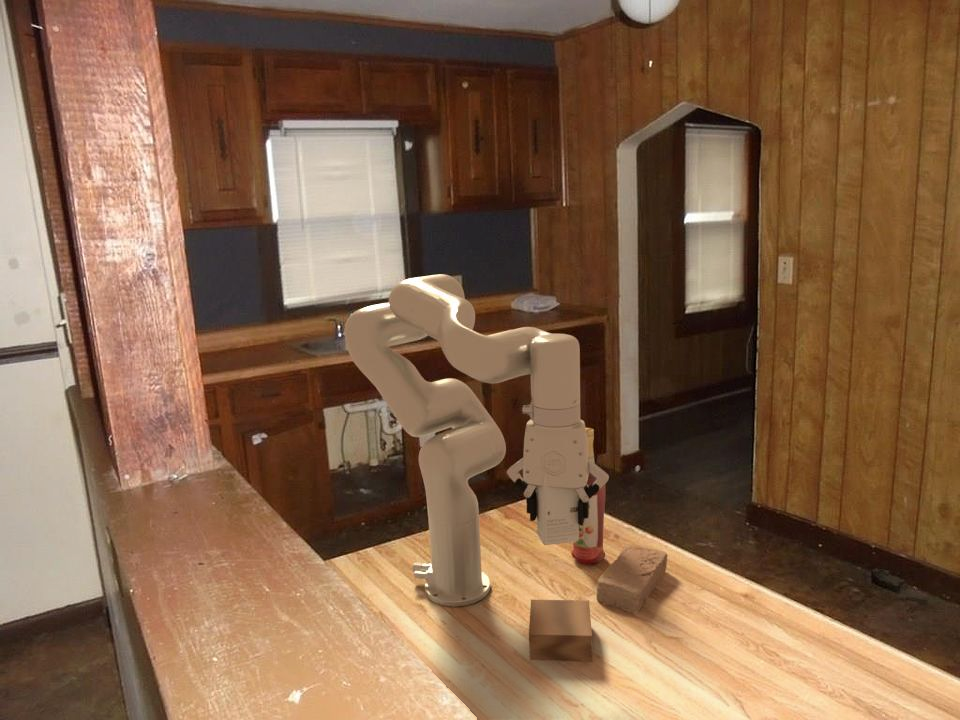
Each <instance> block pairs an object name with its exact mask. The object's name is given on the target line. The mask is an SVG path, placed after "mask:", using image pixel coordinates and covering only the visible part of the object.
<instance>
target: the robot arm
mask: <svg viewBox="0 0 960 720" xmlns="http://www.w3.org/2000/svg"><path fill="white" fill-rule="evenodd" d="M475 322H476V311H475V308H474V306H473V305H472V303H471V302H470V301H469V300H467V299H466V298H465V293H464V289H463V287H462V284H461V283H460V282H459V281H458V280H457V279H455V278H454V277H453V276H451V275H448V274H444V273H443V274H442V273H441V274H440V273H439V274H432V275H425V276H423V275H422V276H417V277H410V278H407V279H403V280H401V281H400V282H397V284H396V285H395V286H394V287H393V288H392V289H391V290H390V294H389V296H388V302H382V303H378V304H372V305H368V306H365V307H363V308H360V309H358V310H355V311H354V312H353V313H352V314H349V316H348V318H347V320H346V321H345V325H344V332H343V333H344V340H345V345H346V348H347V351H348V354H349V356H350V358H351V360H352V362H353V363H354V364H355V366H356V367H357V369H359V371H360V372H361V373H362V374H363V375H364V376H365V377H366V378H367V379H368V381H370V383H371V384H372V385H373V386H374V387H375V388H376V390H377V391H378V392H379V394H380V396H381V397H382V399H383V401H384V402H385V403H386V405H387V406H388V407H387V408H389V410H390V411H391V413H392V414H393V415H394V417H395V419H396V420H397V422H398V423H399V425H400V426H401V428H402V429H403V430H404V431H405V432H406V433H407V434H408V435H409V436H411V437H414V438H421V437H426V436H429V435H433V434H435V433H438V432H440V433H438V434H436V435H433V436H432V437H430V438H428V439H427V440H426V441H425V442H424V443H423V445H422V446H421V447H420V450H419V453H418V466H419V469H420V473H421V476H422V480H423V484H424V490H425V496H426V505H427V506H426V507H427V516H428V517H427V518H428V532H429V533H428V534H429V546H430V547H429V548H430V560H431V561H430V562H429V563H423V562H417V561H416V562H415V561H414V563H413V564H412V572H413V574H414V575H413V576H414V579H420V580H422V579H423V580H424V579H425V584H424V593H425V595H426V597H427V598H428V599H429V600H430V601H432V602H433V603H436V604H437V605H442V606H445V607H463V606H469V605H472V604H475V603H477V602H479V601H482V600H483V599H484V598H485V597H486V596H487V595H488V594H489V592H490V591H491V580H490V578H489V576H488V575H487V574H486V573H485V572H483V571H482V557H481V556H482V551H481V533H480V531H481V530H480V514H479V502H478V498H477V495H476V494H475V492H474V490H472V488H471V487H470V485H469V480H470V478H473V477H474V476H475V477H476V475H479V474H481V473H483V472H485V471H488V470H490V469H493V468H494V467H496V466H499V464H500V463H502V461H503V459H504V458H505V457H506V456H505V455H506V452H507V447H506V446H507V445H506V441H505V438H504V435H503V433H502V431H501V429H500V428H499V426H498V425H497V423H496V421H494V419H493V417H492V416H491V415H490V414H489V412H488V410H487V409H486V408H485V407H484V405H483V404H482V402H481V401H480V399H479V398H478V397H477V395H476V394H475V393H474V392H473V390H472V389H471V388H470V387H469V386H468V385H467V384H466V383H465V382H464V381H461V380H459V379H456V378H450V377H449V378H444V379H443V378H442V379H439V380H435V381H432V382H431V381H427V380H426V379H424V377H423V376H422V375H421V373H420V372H419V370H418V368H416V366H415V364H413V363H412V362H411V361H410V360H409V359H408V358H407V357H405V356H403V355H401V354H400V353H398V352H396V351H395V350H393V349H391V348H390V347H393V346H397V345H402V344H403V345H404V344H406V343H411V342H416V341H420V340H422V339H423V338H426V337H428V336H429V337H430V338H433V339H434V340H437V341H438V342H440V348H441V350H442V353H443V355H444V356H445V358H446V360H447V361H448V363H449V364H450V365H451V366H452V367H453V368H454V369H456V370H457V371H459V372H461V373H463V374H464V375H467V376H468V377H471V379H474V380H477V381H479V382H482V383H485V384H486V383H487V384H499V383H503V382H505V381H509V380H513V379H515V378H519V377H522V376H527V375H530V398H531V399H530V401H531V402H530V404H527V405H522V412H521V413H522V414H523V415H527V416H529V417H530V419H529V420H528V421H527V422H526V425H525V431H524V439H523V457H521V458H520V459H519V460H518V461H516V462H515V463H513V465H511V466H509V468H508V469H507V471H506V475H508V477H509V478H510V479H511V480H512V482H513V483H514V484H515V486H516V487H517V488H518V490H520V492H522V493H523V496H524V498H526V514H529V521H530V522H534V521H536V520H537V508H536V486H540V487H542V486H543V474H546V475H547V486H548V487H552V488H566V489H576V491H577V493H578V495H579V496H580V498H579V501H578V524H579V525H583V523H584V520H585V518H588V517H589V499H590V498H591V497H592V496H594V495H595V494H596V493H597V492H598V491H599V489H600V488H602V487H603V486H604V484H605V483H606V484H607V483H608V481H609V478H610V476H609V474H608V473H607V472H606V471H605V470H604V469H602V468H601V467H600V466H598V464H596V463H593V462H592V461H591V460H590V459H589V447H588V438H587V432H586V428H587V427H586V423H585V421H584V420H583V419H581V364H580V363H581V361H580V360H581V359H580V358H581V357H580V355H581V352H580V351H581V350H580V349H581V348H580V342H579V340H578V339H577V338H576V337H575V336H573V335H570V334H566V333H552V332H548V331H545V330H542V329H540V328H538V327H533V326H524V327H519V328H515V329H509V330H506V331H501V332H500V331H499V332H497V333H492V334H488V335H486V334H482V333H480V332H477V331H475V330H474V327H475ZM450 428H451V429H450ZM447 429H448V430H447ZM444 430H446V431H444ZM441 431H443V432H441ZM521 470H522V475H521V474H520V471H521ZM604 471H605V472H604ZM589 473H591V474H592V475H594V476H595V477H596V478H597V480H596V481H595V482H593V483H592V484H591V485H590V486H589V487H588V485H587V481H588V476H589Z"/></svg>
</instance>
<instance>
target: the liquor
mask: <svg viewBox="0 0 960 720" xmlns="http://www.w3.org/2000/svg"><path fill="white" fill-rule="evenodd" d="M586 432H587V438H588V447H589V459H590V460H591V461H592V462H593V463H595V452H594V439H595V436H594V435H595V433H594V432H595V430H594V429H593V428H591V427H586ZM595 464H596V463H595ZM603 471H604V472H606V471H605V470H603ZM596 480H597V478H596V477H595V476H594V475H592V474H591V473H589V476H588V481H587V485H588V487H589V486H590V485H591V484H592V483H593V482H595V481H596ZM606 484H607V482H606V483H605V484H604V486H603V487H602V488H600V489H599V491H598V492H597V493H596V494H595V495H594V496H592V497H591V498H590V499H589V517H588V518H585V520H584V523H583V525H579V540H578V541H575V542H572V547H573V549H572V551H571V553H570V554H571V557H572V558H573V559H574V560H575V561H577V562H578V563H579V564H581V565H583V566H594V565H597V564H598V563H599V562H601V561H602V560H604V558H606V552H605V551H604V527H605V524H604V523H605V522H604V520H605V505H606ZM579 498H580V496H579Z"/></svg>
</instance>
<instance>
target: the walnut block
mask: <svg viewBox="0 0 960 720" xmlns="http://www.w3.org/2000/svg"><path fill="white" fill-rule="evenodd" d="M529 608H530V609H529V626H528V627H529V628H528V643H529V644H528V645H529V661H540V662H541V661H546V662H581V663H593V631H592V621H591V620H592V618H591V611H590V610H591V609H590V600H580V599H579V600H578V599H577V600H575V599H574V600H571V599H569V600H568V599H530V607H529Z"/></svg>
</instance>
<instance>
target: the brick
mask: <svg viewBox="0 0 960 720" xmlns="http://www.w3.org/2000/svg"><path fill="white" fill-rule="evenodd" d="M667 564H668V553H667V552H665V551H663V550H660V549H656V548H652V547H647V546H639V545H633V544H630V543H628V544H627V545H626V546H624V547H623V548H622V550H621V552H620V553H619V555H618V557H617V558H616V559H615V560H614V561H613V562H612V563H611V564H610V565H609V566H608V567H607V568H606V569H604V572H603V573H602V574H601V575H600V577H599V578H598V579H597V584H596V600H597V601H598V602H599V603H602V604H604V605H610V606H612V607H614V608H618V609H621V610H624V611H627V612H630V613H637V612H639V610H640V609H641V608H642V607H643V605H644V603H645V601H646V600H647V599H648V598H649V597H650V594H651V593H652V592H653V590H654V589H655V588H656V587H657V585H658V584H659V582H660V581H661V580H662V578H663V576H664V575H665V573H666V570H667V568H668V567H667Z"/></svg>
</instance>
